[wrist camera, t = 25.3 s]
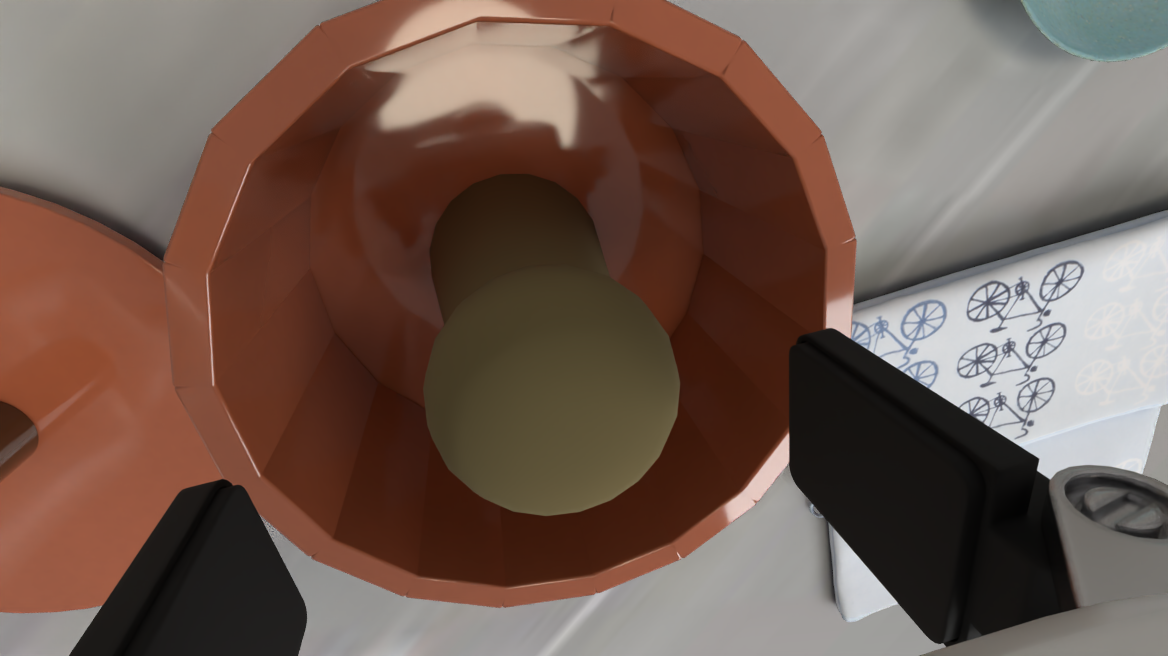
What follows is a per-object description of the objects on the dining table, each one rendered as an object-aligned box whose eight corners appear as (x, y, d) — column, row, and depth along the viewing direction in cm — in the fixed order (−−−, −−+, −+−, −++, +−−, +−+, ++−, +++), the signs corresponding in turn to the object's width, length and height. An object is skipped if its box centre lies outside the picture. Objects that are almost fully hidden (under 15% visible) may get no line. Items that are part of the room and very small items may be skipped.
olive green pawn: (513, 133, 18) (567, 199, 8) (634, 255, 21) (785, 416, 11) (391, 265, 19) (313, 462, 9) (521, 367, 22) (566, 608, 12)
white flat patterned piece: (1194, 188, 25) (1255, 197, 23) (1112, 520, 34) (1151, 547, 32) (793, 308, 24) (822, 328, 22) (815, 622, 32) (838, 657, 30)
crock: (371, 473, 23) (325, 669, 15) (206, 57, 16) (-19, 41, 9) (725, 388, 25) (842, 527, 17) (703, -22, 18) (877, -94, 10)
